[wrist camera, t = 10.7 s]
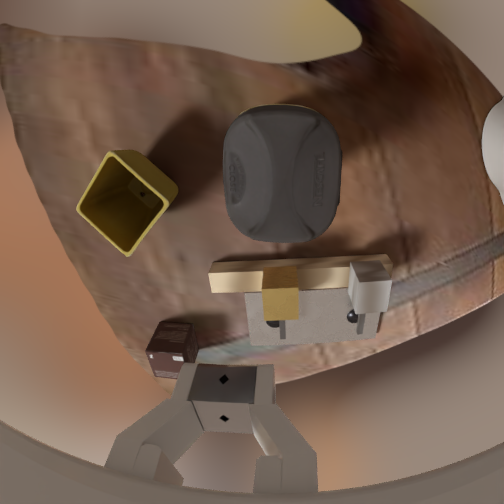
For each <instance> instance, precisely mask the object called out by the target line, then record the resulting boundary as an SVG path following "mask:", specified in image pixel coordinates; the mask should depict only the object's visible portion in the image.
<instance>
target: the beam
mask: <svg viewBox="0 0 504 504" xmlns="http://www.w3.org/2000/svg"><path fill="white" fill-rule="evenodd" d="M280 266H296V269H297V278H298V290H304V289H323V288H340V287H348V293H349V296H350V299H351V302H352V305H353V308H354V311H355V314H358V321H357V328H356V333H357V335H359V334H363V328H364V322H365V316H366V313H376V312H386V311H387V307H388V302H389V296H390V290H391V284H392V279H391V276H392V269H393V263H392V262H391V260H390V259H389V257H388V256H387V254H377V255H358V256H339V257H319V258H299V259H278V260H256V261H234V262H213V263H212V266H211V268H210V271H209V273H208V274H209V279H210V285H211V290H212V293H223V292H258V291H262V290H261V289H262V279H263V268H264V267H280Z"/></svg>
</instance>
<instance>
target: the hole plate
mask: <svg viewBox="0 0 504 504" xmlns="http://www.w3.org/2000/svg"><path fill="white" fill-rule="evenodd" d="M298 291H299V320H285V325H286V339H280V327H279V320H275V321H264V312H263V301H262V291H258V292H245V293H244V294H245V302H246V310H247V318H248V326H249V333H250V341H251V345H288V344H309V343H325V342H339V341H351V340H362V339H371V338H375V337H376V332H377V327H378V322H379V317H380V312H376V313H366V316H365V322H364V328H363V334H359V335H357V333H356V328H357V321H358V314H355V311H354V308H353V305H352V302H351V299H350V296H349V293H348V287H340V288H323V289H304V290H298Z"/></svg>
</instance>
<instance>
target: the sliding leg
mask: <svg viewBox="0 0 504 504" xmlns="http://www.w3.org/2000/svg"><path fill="white" fill-rule="evenodd" d="M261 290H262V301H263V312H264V321H275V320H279V327H280V339H286V325H285V320H299V291H298V278H297V269H296V266H280V267H264V268H263V279H262V289H261Z"/></svg>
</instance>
